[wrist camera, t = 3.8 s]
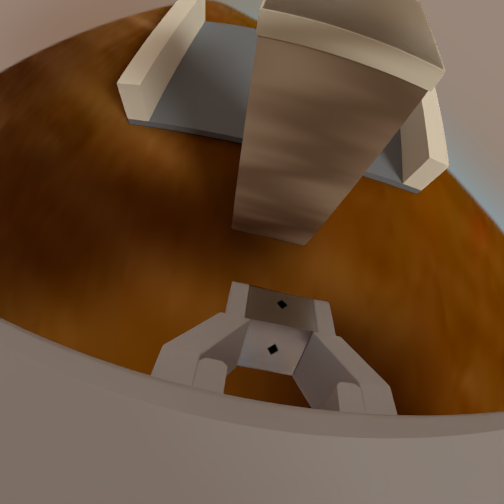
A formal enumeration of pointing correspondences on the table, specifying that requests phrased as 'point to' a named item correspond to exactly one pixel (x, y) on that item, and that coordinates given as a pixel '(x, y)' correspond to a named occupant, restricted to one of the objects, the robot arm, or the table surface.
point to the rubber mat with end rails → (247, 94)
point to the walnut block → (325, 105)
